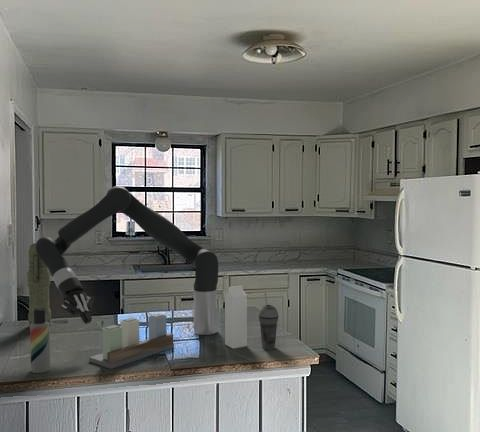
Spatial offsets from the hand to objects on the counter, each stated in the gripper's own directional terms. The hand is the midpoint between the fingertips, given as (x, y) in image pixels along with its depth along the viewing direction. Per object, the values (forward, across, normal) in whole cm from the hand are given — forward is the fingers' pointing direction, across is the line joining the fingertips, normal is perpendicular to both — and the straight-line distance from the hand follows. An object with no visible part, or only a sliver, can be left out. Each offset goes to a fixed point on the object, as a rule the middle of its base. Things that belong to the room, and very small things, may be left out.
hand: (88, 322), depth 175 cm
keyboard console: (+16, +10, +1) cm, 19 cm away
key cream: (+14, +10, 0) cm, 17 cm away
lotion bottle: (+8, -18, +8) cm, 22 cm away
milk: (+32, +40, -15) cm, 53 cm away
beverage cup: (+40, +45, -23) cm, 64 cm away
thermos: (-26, +11, +43) cm, 52 cm away
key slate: (+16, +20, -2) cm, 26 cm away
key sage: (+16, 0, -2) cm, 16 cm away
